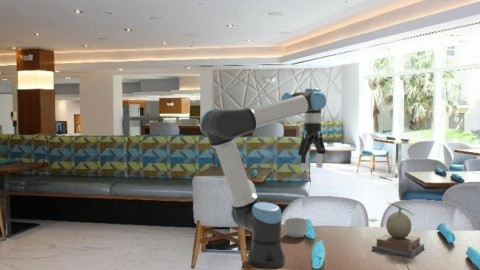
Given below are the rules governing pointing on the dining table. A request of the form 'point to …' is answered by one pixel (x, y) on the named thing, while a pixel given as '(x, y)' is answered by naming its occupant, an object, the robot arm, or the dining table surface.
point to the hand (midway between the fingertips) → (311, 169)
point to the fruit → (398, 224)
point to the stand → (398, 245)
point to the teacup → (295, 227)
